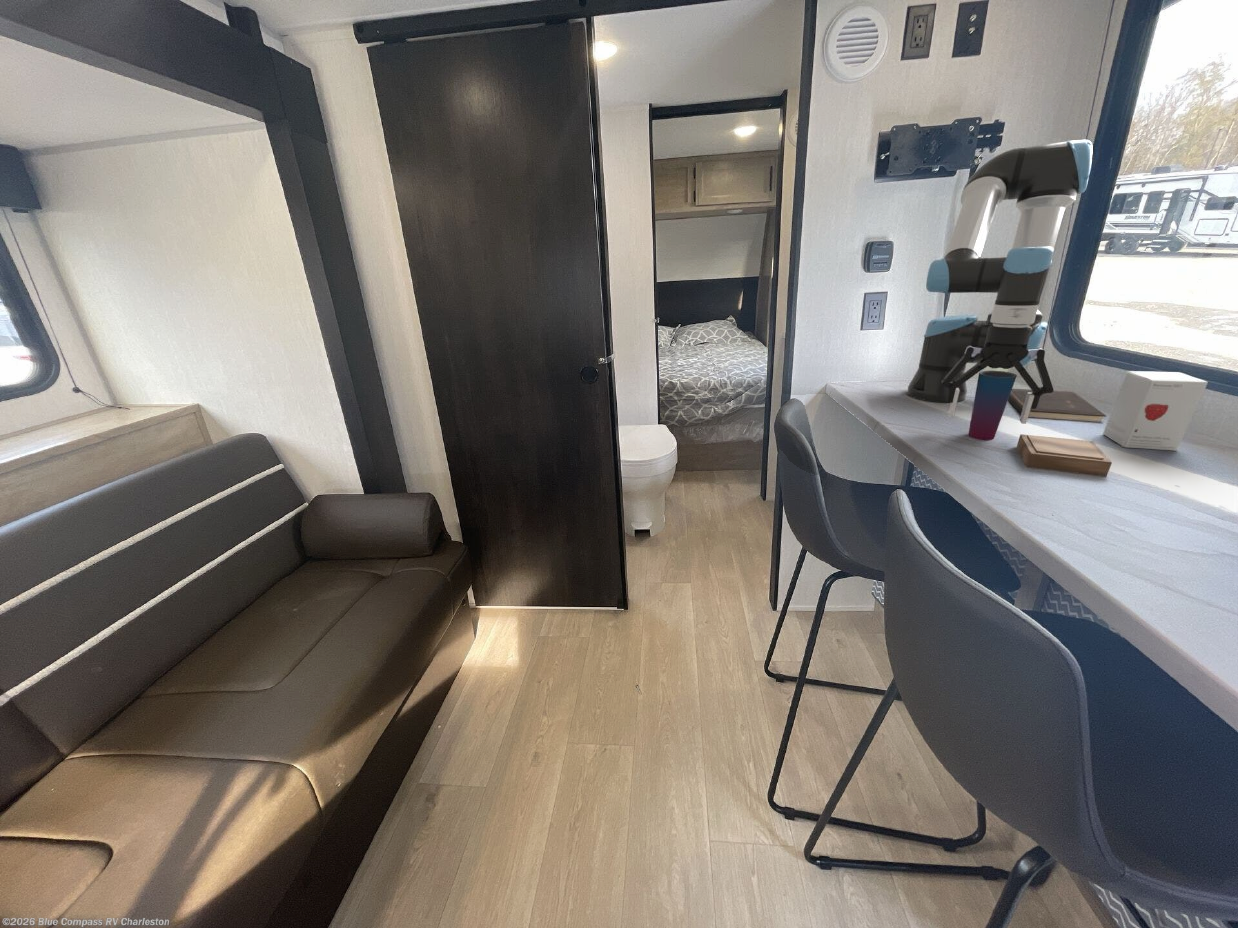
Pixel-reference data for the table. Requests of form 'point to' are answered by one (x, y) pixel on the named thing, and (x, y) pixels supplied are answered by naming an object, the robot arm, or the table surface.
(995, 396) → the cup
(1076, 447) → the pedestal
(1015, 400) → the hardcover book
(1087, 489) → the table surface
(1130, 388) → the supplement box
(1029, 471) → the table surface
